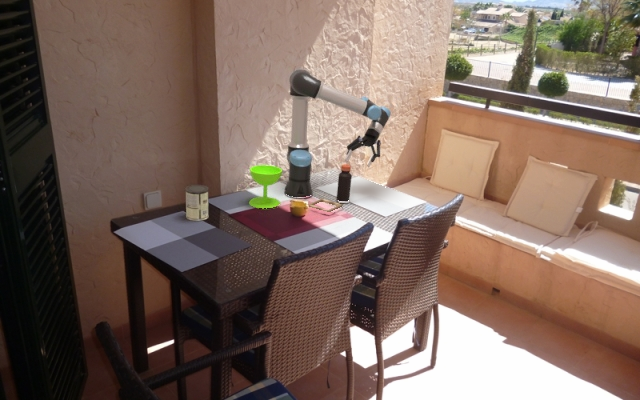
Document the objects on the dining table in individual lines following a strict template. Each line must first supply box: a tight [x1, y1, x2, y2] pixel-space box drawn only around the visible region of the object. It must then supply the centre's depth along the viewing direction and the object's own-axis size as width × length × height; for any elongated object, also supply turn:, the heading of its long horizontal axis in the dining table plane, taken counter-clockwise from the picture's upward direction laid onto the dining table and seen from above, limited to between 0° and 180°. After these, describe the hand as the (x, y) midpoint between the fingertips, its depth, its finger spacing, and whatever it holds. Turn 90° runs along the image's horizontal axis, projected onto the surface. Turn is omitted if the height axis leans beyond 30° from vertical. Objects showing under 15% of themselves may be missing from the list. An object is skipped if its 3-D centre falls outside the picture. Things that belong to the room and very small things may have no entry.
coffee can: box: [185, 184, 210, 222], centre depth 236 cm, size 10×10×14 cm
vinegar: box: [336, 164, 352, 201], centre depth 269 cm, size 7×7×20 cm
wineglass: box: [248, 164, 283, 210], centre depth 259 cm, size 16×16×18 cm
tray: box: [307, 198, 344, 212], centre depth 260 cm, size 13×13×2 cm
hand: (356, 163), depth 274 cm, fingers open, 13 cm apart
